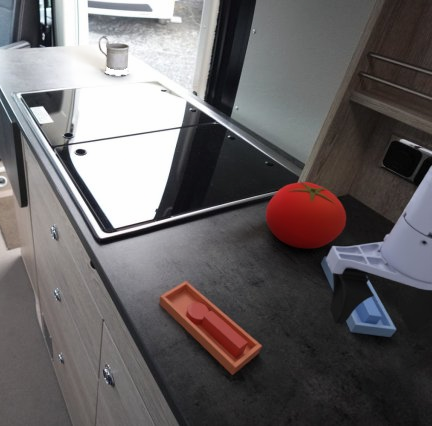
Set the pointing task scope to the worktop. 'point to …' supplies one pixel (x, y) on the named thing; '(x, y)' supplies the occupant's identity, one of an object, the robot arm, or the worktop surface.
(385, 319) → the blue rest
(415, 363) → the worktop surface
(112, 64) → the mug
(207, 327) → the red spoon
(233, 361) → the orange tray
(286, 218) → the tomato
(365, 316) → the blue spoon
